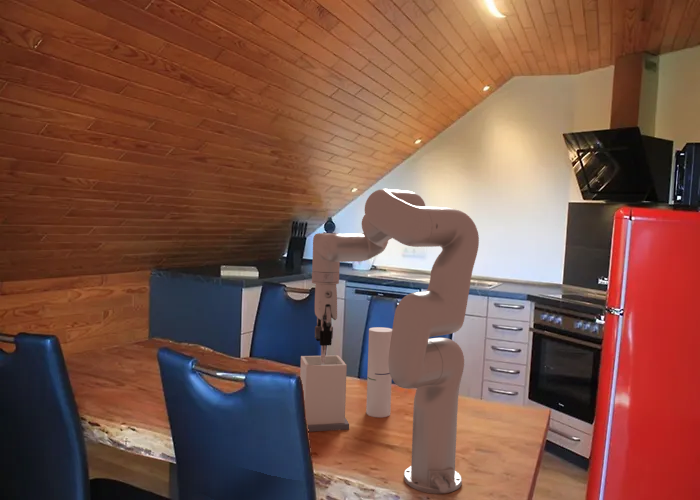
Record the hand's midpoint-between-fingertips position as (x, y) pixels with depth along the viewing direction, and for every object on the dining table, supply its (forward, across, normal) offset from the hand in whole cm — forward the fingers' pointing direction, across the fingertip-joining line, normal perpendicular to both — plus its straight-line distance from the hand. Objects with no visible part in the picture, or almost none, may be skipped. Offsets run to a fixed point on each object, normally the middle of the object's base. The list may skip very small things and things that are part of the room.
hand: (323, 342), depth 157 cm
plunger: (+17, 0, 0) cm, 17 cm away
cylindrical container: (+23, +5, -18) cm, 29 cm away
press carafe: (+23, 0, 0) cm, 23 cm away
